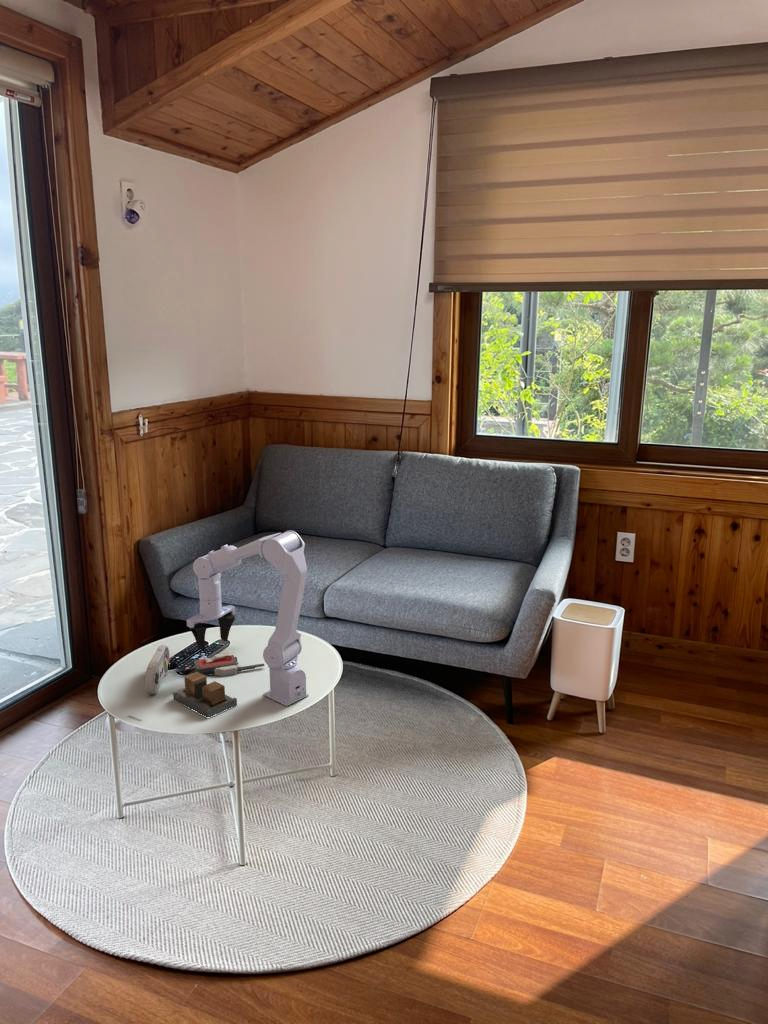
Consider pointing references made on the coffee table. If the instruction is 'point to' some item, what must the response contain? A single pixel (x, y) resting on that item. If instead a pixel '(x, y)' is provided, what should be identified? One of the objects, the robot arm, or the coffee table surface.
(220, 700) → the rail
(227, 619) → the robot arm
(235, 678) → the coffee table surface
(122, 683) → the coffee table surface
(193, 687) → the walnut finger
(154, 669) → the game controller
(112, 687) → the coffee table surface
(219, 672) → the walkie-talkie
